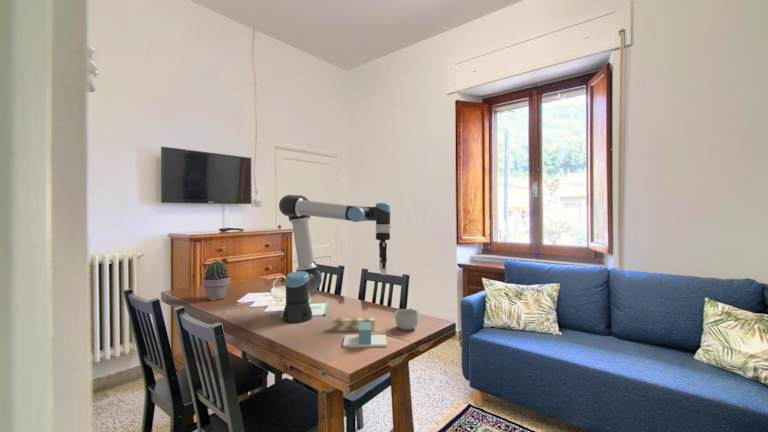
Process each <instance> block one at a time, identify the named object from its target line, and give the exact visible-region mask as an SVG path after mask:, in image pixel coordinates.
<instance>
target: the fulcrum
mask: <svg viewBox="0 0 768 432" xmlns="http://www.w3.org/2000/svg"><path fill="white" fill-rule="evenodd" d="M343 339H344V340H343V343H342V348H388V346H387V345H388V343H387V335H386V334H372V330H371V322H360V325H359V330H358V334H346V335H344V338H343Z"/></svg>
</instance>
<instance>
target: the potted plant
mask: <svg viewBox="0 0 768 432" xmlns="http://www.w3.org/2000/svg"><path fill="white" fill-rule="evenodd" d="M228 264H229V260H228V258H227V257H223V258H221V260H218V261H217V260H215V261H212V262H210V263H209V264H208V265H207V268H206V270H205V271H204V272H203V274H201V275H205V276H204V277H202V278H200V279H201V280H202V286H204V290H205V293H206V297H207V300H208V299H221V298H224V297H225V298H226V295H227V291H228V287H229V284H230V280H231V277H230V276H229V275H227V274H228V272H229V271H228V270H227V268H228V267H229V266H227V265H228ZM225 298H224V299H225Z"/></svg>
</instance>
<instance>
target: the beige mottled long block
mask: <svg viewBox="0 0 768 432" xmlns="http://www.w3.org/2000/svg"><path fill="white" fill-rule="evenodd" d="M360 322H371V331H375V329H376V328H375V327H376V326H375V325H376V324H375V322H376V320H375V317H340V318H339V317H338V318H337V317H335V318H331V331H332V332H343V331H347V332H348V331H351V332H352V331H359V325H360Z"/></svg>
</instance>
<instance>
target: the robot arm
mask: <svg viewBox="0 0 768 432" xmlns="http://www.w3.org/2000/svg"><path fill="white" fill-rule="evenodd" d="M278 208H279V212H280V213H281V214H282V215H284V216H286V217H288V222H290V223H291V224H292V230H293V231H292V232H293V237H294V244H295V252H296V257H297V258H296V259H297V265H298V267H297V268H296V269H295V271H292V272H290V273H288V274H287V275H286V277H285V282H284V284H285V305H284V308H283V312H282V315H281V316H282V317H281V319H283V320H284V321H283V320H282V321H283V322H285V321H286V323H290V322H291V323H292V324H293V323H295V324H296V323H304V322H307V321H309V320H311V319H312V318H313V311H312V308H311V306H310V302H309V301H310V293H312V292H314V291H316V290H317V289H318V288H320V286H321V285H322V282H323V275H322V273H321V272H320V271H319V270H318V265H316V264H315V261H314V254H313V248H312V240H311V233H310V227H309V220H310V219H311V217H318V218H327V219H334V220H340V221H341V220H342V221H349V222H350V221H351V222H354V223H360V222H367V221H369V222H371V221H372V222H375V240H377V241H379V243H378V248H379V249H378V250H379V254H378V255H379V256H378V257H379V259H378V260H379V261H378V262H379V265H378V266H379V267H378V268H379V269H378V270H379V271H380V275H381V276H387V261H388V260H387V247H388V243H387V242H386V241H389V240H390V239H391V233H390V232H391V228H392V226H391V205H390V203H388V202H376V204H375V206H359V205H358V206H357V205H348V204H338V203H330V202H323V201H322V202H321V201H313V200H310V199H309V198H308V197H306V196H303V195H300V194H299V195H297V194H296V195H295V194H287V195H284V196H283V197H282V198H281V199H280V200H279V202H278Z"/></svg>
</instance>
